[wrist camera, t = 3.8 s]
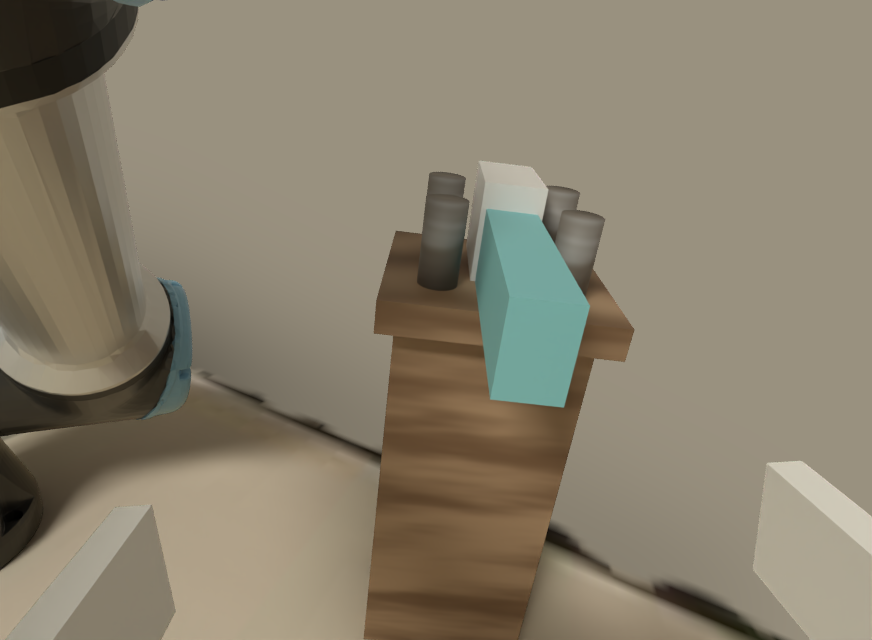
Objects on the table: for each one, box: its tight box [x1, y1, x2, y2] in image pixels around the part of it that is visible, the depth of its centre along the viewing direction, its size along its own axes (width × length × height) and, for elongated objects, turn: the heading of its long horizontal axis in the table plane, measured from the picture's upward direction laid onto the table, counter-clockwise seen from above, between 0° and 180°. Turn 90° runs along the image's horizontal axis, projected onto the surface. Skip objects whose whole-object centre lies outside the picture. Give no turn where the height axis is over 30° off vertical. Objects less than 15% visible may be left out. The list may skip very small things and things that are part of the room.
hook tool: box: [466, 161, 590, 408], centre depth 31 cm, size 20×4×6 cm, turn 179°
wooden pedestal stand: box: [364, 172, 634, 640], centre depth 42 cm, size 13×14×35 cm
